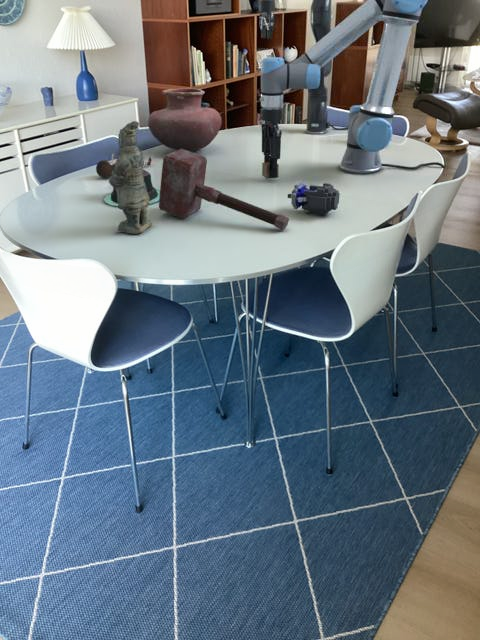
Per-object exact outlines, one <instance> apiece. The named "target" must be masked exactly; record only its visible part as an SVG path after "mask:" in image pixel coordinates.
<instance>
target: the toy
mask: <svg viewBox="0 0 480 640" xmlns="http://www.w3.org/2000/svg"><path fill="white" fill-rule="evenodd" d="M293 187H294V188H293V189H292V191H291V193H288V194H287V199H291V200H290V201H291V202H290V203H291V206H292V207H293V210H298V209H299V208H301V210H303V211H306V212H307V214H310V215H311V214H312V215H318V216H326V215H328V213H330V212H331V211H336V210H337V209H338V205H339V204H340V194H341V193H340V190H338V189H337V188H335V187H334V184H332V183H328V182H324V183H322V185H315V184H310V185H309V186H308V187H309V188H308V187H307V185H306V184H305V183H304V181H301V180H299V181H298V182H296V183H295V184H294V186H293Z"/></svg>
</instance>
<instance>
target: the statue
mask: <svg viewBox="0 0 480 640" xmlns="http://www.w3.org/2000/svg"><path fill="white" fill-rule="evenodd" d="M139 126H140V122H139V121H136V120H134V121H131V122H129V123H127V124H126V125H125V126H123V127H122V128H121V129H119V133H118V139H117V141H118V146H119V152H118V154H117V156H116V160H115V163H116V164H115V170H114V175H113V176H111V177H109V180H108V183H109V184H110V186H111V187H112V188H113V187H114V188H115V189H116V192H117V202H118V206H117V209H119V210H122V213H123V214H124V215H125V218H126V219H125V220H122V221H120V222H119V224H118V225H117V231H118V232H121V233H126V234H134V235H136V234H142V233H143V232H145V231H146V230H147V229H148V228H150V227H151V226H152V225H153V223H152V220H150V219H148V216H147V214H148V213H147V212H148V211H147V209H148V206H149V205H150V197H149V195H148V192H147V188H146V184H145V182H144V178H143V169H144V166H145V165H144V163H145V157H144V153H143V151H142V150H141V149H139V147H138V145H137V144H138V142H137V141H138V140H137V139H138V137H137V132H138V131H139V128H140V127H139Z"/></svg>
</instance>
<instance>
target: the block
mask: <svg viewBox="0 0 480 640" xmlns="http://www.w3.org/2000/svg"><path fill="white" fill-rule="evenodd" d="M261 163H262V164H261V167H262V168H261V169H262V170H261V176H262V177H264V178H265V179H266V180H267V179H270V178H269V162H264V161H263V162H261ZM279 170H280V165H279V163H277V178H276V179H278V178H279V172H280V171H279Z"/></svg>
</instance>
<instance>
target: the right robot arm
mask: <svg viewBox="0 0 480 640" xmlns="http://www.w3.org/2000/svg"><path fill="white" fill-rule="evenodd" d="M428 1H429V0H365V2H363V3H362V4H361V5H359V7H358V8H356V9H355V10H354V11H352V13H350V14H349V15H348V16H347V17H345V18H344V19H343V20H342V21H341V22H340V23H338V24H337V25H336V26H335V27H333V28H332V29H331V31H330V32H329V33H328V34H327V35H325V36H324V37H323V38H322V39H321V40H320V41H318V42H317V43H316V42H315V44H313V45H312V46H311V47H310V48H309V49H307V50H306V51H305V52H304V53H303V54H301V55H300V56H299V57H298V58H296V59H294V60H293V61H292V62H290V64H289V63H288V64H287V63H285V59H284V58H283V57H280V56H278V57H276V56H270V57H269V56H268V57H264V58H263V59H262V60H261V66H260V69H261V70H260V98H259V101H260V107H261V108H260V120H261V121H263V122H264V123H261V125H260V126H261V153H262V154H263V158H264V159H263V163H264V162H269V179H278V178H277V164H278V160H280V159H281V149H282V135H283V134H282V133H283V131H282V130H281V129H280V128H279V122H280V121H282V120H283V117H284V116H283V115H284V114H283V113H284V112H283V111H284V110H283V107H284V90H308V89H315V88H318V87H319V84H320V69H321V68H322V67H323V66H324V65H326V64H327V63H328V62H329V61H331V60H332V61H333V59H334V58H336V57H337V56H338V55H339V54H340V53H342V52H343V51H344V50H346V49H347V48H348V47H349V46H350V45H352V43H354V42H355V41H356V40H358V39H359V38H360V37H361V36H362V35H364V34H365V33H366V32H368V31H369V30H370V29H372V27H374V26H375V25H376V24H377V23H379V22H384V25H383V29H382V33H381V38H380V42H379V45H378V50H377V54H376V59H375V63H374V68H373V72H372V75H371V81H370V84H369V89H368V92H367V97H366V101H365V102H364V103H363V104H360V105H359V104H357V105H352V106H350V108H349V113H348V126H347V127H348V129H347V138H346V139H347V140H346V149H345V151H344V154H343V156H342V158H341V162H340V170H341V171H343V172H345V173H349V174H355V175H356V174H357V175H369V174H370V175H371V174H376V173H378V172H380V171H382V167H385V168H395V169H403V170H411V171H412V170H418V169H420V168H421V167H428V166H439V167H441V168H442V169H447V167H446V166H445V165H444V164H443V163H442V162H437V161H434V162H433V161H432V162H427V163H425V162H424V163H420V164H418V165H415V166H405V165H399V164H392V163H391V164H390V163H382V161H381V155H380V152H381V151H382V150H384V149H385V148H386V147H387V146H388V145H389V144H390V143H391V141H392V140H391V139H392V137H393V127H392V124H393V120H394V116H395V113H396V112H395V111H394V108H393V101H394V99H395V94H396V91H397V87H398V83H399V78H400V75H401V72H402V67H403V63H404V60H405V56H406V52H407V48H408V45H409V40H410V36H411V34H412V33H411V32H412V28H413V27H414V26H415V25H417V24H418V23H419V22H420V17H421V14H422V11H423V8H424V7H425V6H426V4H427V3H428Z"/></svg>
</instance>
